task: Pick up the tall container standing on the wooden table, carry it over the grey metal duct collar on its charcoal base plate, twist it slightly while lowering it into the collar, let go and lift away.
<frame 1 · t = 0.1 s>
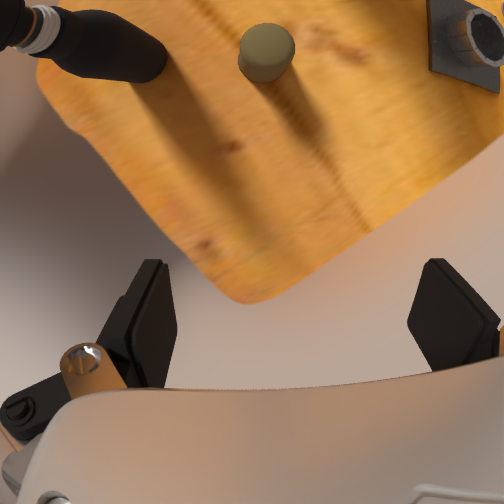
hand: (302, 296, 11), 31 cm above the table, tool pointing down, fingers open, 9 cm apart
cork: (262, 60, 33), on the table
duct collar: (464, 40, 30), on the table
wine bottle: (143, 60, 33), on the table
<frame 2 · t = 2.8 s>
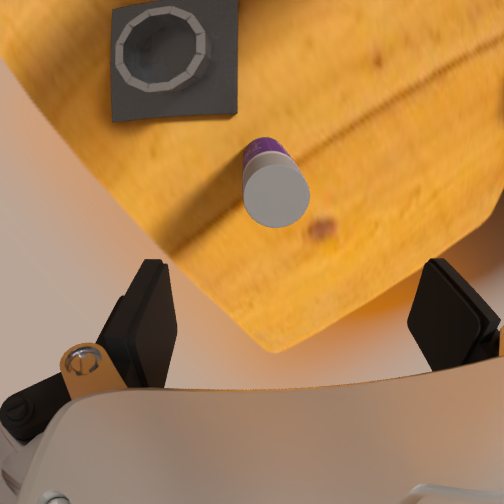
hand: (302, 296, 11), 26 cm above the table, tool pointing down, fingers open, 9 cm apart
container: (264, 157, 34), on the table
duct collar: (173, 55, 28), on the table
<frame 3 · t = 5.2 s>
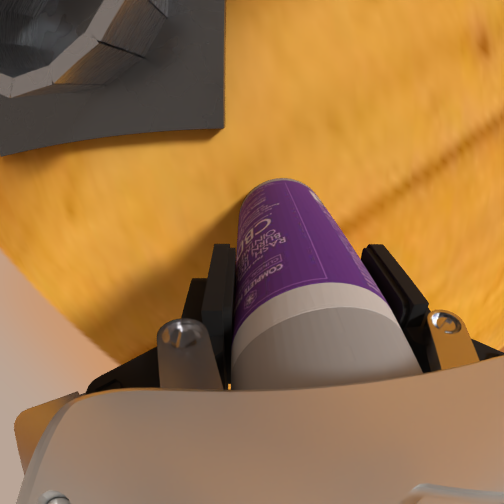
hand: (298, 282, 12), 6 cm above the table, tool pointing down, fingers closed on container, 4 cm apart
container: (281, 218, 17), on the table, touching gripper
duct collar: (97, 18, 12), on the table
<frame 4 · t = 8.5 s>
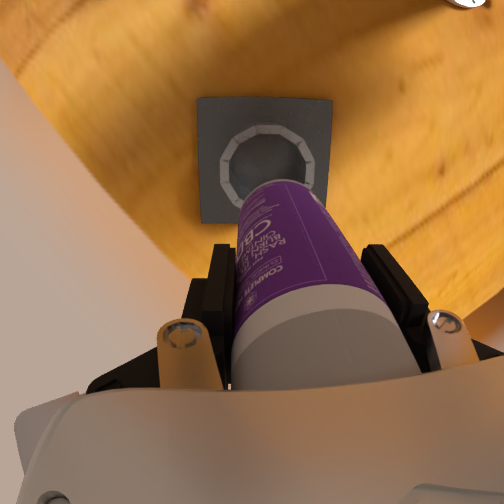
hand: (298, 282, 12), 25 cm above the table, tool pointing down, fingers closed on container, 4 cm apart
container: (281, 218, 17), point 18 cm above the table, touching gripper
duct collar: (264, 160, 33), on the table
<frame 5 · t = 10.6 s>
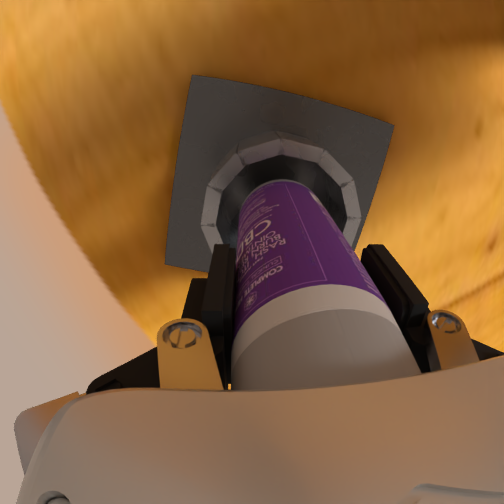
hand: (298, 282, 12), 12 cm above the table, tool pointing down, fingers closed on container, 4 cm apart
container: (281, 218, 17), point 5 cm above the table, touching gripper
duct collar: (274, 190, 22), on the table
when the fingers open (9 cm above the table, at t = 12.0 s): container drops 1 cm, resting on duct collar.
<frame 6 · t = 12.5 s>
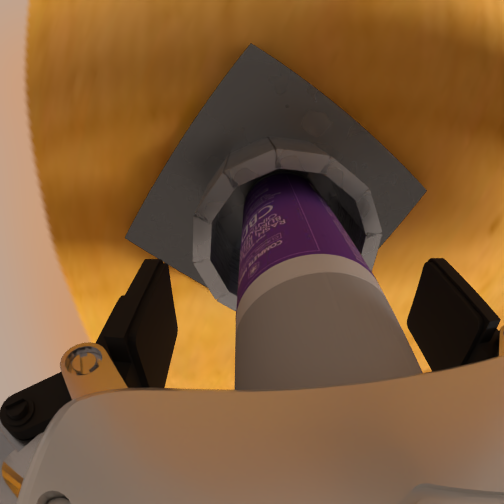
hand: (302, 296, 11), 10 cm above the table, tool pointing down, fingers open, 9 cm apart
container: (282, 208, 19), point 1 cm above the table, touching duct collar
duct collar: (277, 205, 19), on the table
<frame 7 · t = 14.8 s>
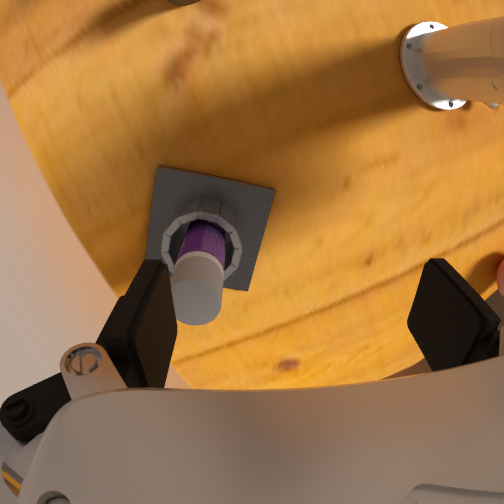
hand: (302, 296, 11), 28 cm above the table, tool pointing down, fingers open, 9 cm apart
container: (206, 231, 38), point 1 cm above the table, touching duct collar
duct collar: (205, 230, 39), on the table
decorative fruit: (500, 261, 45), on the table
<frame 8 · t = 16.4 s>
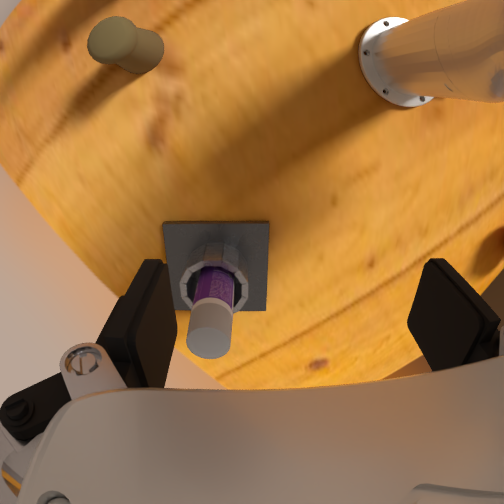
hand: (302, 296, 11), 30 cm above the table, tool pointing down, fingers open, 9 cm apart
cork: (141, 51, 31), on the table
container: (218, 268, 44), point 1 cm above the table, touching duct collar
duct collar: (217, 267, 45), on the table
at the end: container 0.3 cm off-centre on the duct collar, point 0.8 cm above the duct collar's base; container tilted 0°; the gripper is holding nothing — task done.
